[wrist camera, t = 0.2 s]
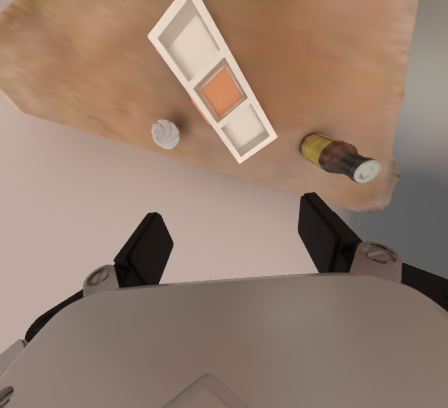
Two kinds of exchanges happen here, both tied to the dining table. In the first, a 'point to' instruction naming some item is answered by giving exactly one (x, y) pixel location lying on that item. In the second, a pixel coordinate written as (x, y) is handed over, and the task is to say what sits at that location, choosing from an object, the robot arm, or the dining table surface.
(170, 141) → the ice cream cone
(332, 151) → the sauce bottle
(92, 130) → the dining table surface
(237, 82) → the compartment tray
